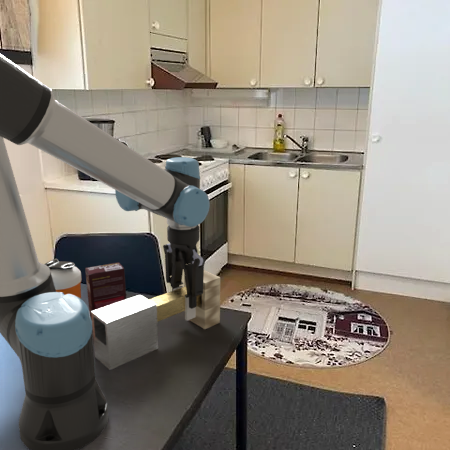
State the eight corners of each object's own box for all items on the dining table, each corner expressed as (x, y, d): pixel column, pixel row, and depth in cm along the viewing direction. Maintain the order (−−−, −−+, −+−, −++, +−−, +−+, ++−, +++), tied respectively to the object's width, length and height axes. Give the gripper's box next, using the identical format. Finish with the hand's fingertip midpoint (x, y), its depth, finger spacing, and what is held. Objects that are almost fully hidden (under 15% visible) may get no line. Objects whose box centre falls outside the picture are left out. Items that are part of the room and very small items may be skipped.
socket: (204, 329, 116) (204, 283, 112) (184, 317, 121) (184, 272, 117) (219, 322, 119) (220, 277, 115) (199, 311, 124) (199, 267, 121)
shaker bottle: (74, 355, 104) (67, 273, 98) (38, 350, 106) (28, 269, 100) (93, 334, 112) (87, 257, 106) (59, 330, 114) (51, 254, 108)
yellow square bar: (138, 329, 104) (137, 313, 102) (128, 322, 106) (128, 307, 105) (206, 302, 117) (206, 287, 115) (196, 296, 119) (196, 282, 118)
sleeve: (110, 370, 99) (106, 323, 96) (94, 356, 104) (91, 311, 100) (158, 348, 107) (156, 304, 104) (142, 337, 112) (140, 294, 108)
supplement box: (123, 318, 120) (120, 261, 115) (128, 327, 116) (125, 268, 111) (89, 325, 116) (84, 267, 112) (93, 335, 112) (88, 274, 108)
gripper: (220, 230, 105) (218, 322, 112) (174, 213, 116) (175, 298, 124) (194, 237, 100) (194, 333, 107) (148, 219, 112) (151, 307, 119)
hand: (184, 314), depth 115 cm, fingers closed on yellow square bar, 4 cm apart
